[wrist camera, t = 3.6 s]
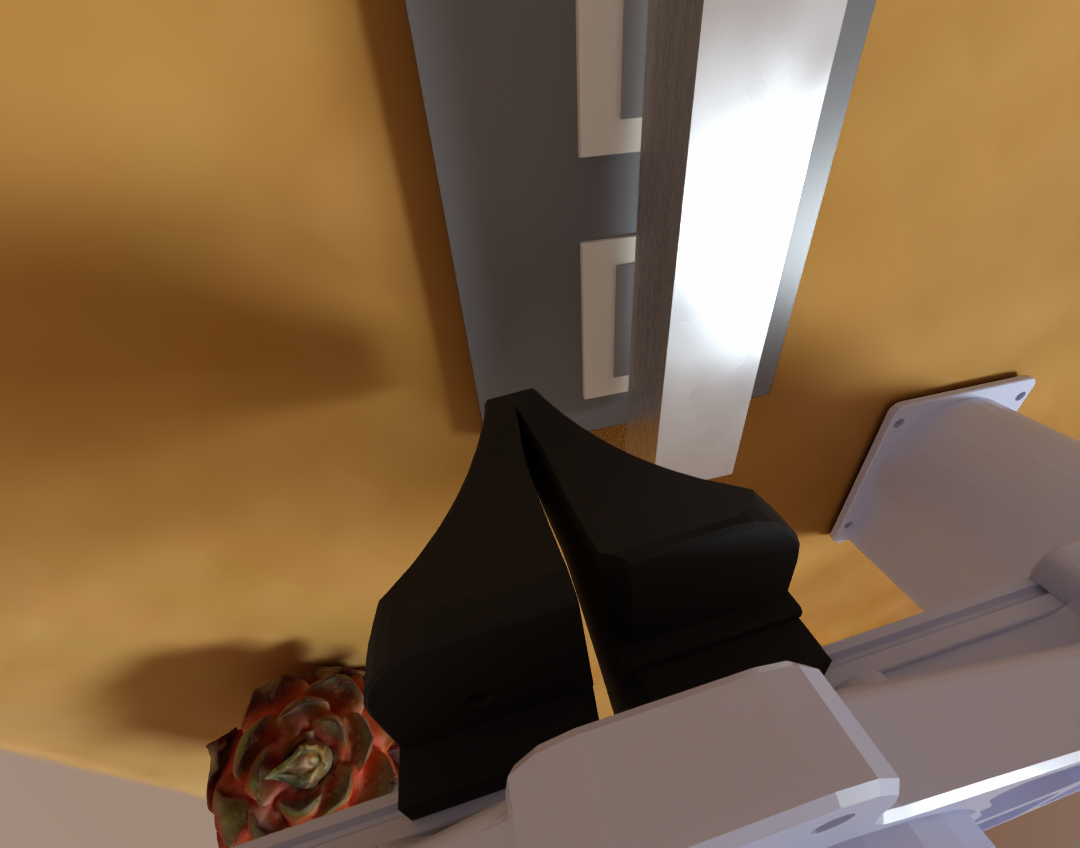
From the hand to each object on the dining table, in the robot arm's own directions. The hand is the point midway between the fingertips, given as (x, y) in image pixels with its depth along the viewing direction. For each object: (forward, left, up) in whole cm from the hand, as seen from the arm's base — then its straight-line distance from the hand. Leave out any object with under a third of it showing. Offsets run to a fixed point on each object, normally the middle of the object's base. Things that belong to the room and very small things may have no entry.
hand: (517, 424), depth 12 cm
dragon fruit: (-17, +10, -4) cm, 20 cm away
